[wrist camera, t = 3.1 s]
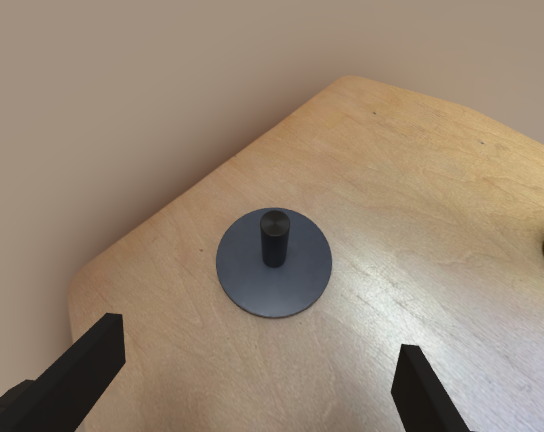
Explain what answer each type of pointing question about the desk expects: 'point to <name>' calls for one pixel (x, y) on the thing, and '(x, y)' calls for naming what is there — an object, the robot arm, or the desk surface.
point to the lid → (274, 262)
